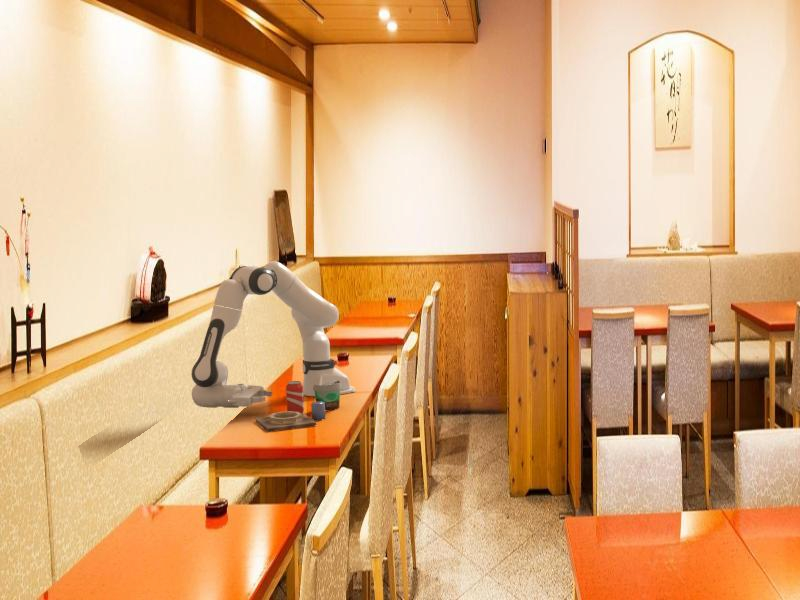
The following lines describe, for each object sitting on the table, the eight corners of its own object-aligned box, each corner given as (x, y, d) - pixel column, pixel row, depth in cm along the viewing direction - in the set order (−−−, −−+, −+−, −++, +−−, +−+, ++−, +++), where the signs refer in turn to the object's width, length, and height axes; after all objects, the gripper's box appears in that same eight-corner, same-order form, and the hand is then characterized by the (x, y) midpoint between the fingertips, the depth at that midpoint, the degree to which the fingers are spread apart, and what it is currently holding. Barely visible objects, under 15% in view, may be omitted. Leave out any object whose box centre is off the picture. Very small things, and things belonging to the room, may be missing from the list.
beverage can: (307, 412, 382) (305, 381, 381) (294, 416, 378) (293, 384, 376) (296, 410, 386) (295, 380, 385) (284, 413, 382) (282, 382, 380)
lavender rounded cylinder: (322, 416, 375) (322, 400, 374) (327, 419, 371) (326, 403, 370) (310, 418, 373) (309, 402, 373) (314, 421, 369) (313, 405, 368)
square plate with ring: (302, 415, 378) (301, 407, 377) (316, 425, 361) (316, 417, 361) (255, 421, 371) (254, 412, 371) (267, 431, 354) (267, 423, 354)
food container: (323, 413, 381) (321, 387, 380) (313, 410, 386) (312, 384, 385) (349, 407, 389) (348, 382, 388) (339, 405, 394) (338, 380, 392)
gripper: (224, 394, 375) (259, 394, 373) (241, 382, 395) (275, 382, 393) (225, 410, 376) (260, 410, 373) (242, 398, 396) (276, 398, 393)
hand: (268, 396), depth 383 cm, fingers open, 8 cm apart
